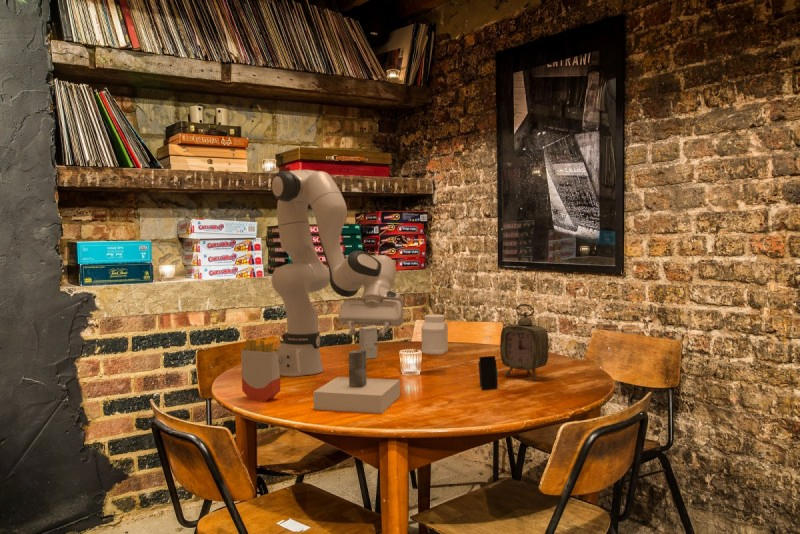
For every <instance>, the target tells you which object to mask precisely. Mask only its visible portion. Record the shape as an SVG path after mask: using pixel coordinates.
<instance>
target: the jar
mask: <svg viewBox="0 0 800 534" xmlns="http://www.w3.org/2000/svg"><path fill="white" fill-rule="evenodd" d="M445 317H446V316H445V315H444V314H438V313H437V314H435V313H434V314H426V315H424V322H423V323H422V325H421V327H420V329H421V353H423V354H427V355H443V354H445V353H446V352H448V351H449V346H448V345H449V340H448V339H449V337H448V336H449V331H448V330H449V327H448V324H447V322H445Z"/></svg>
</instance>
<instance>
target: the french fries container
mask: <svg viewBox="0 0 800 534" xmlns="http://www.w3.org/2000/svg"><path fill="white" fill-rule="evenodd" d="M273 350H274V351H273ZM240 352H241V354H240V355H241V389H242V392H243V393H244V395H245V396H246V397H247V398H248V399H249V400H251V401H260V402H266V401H269V400H271V399H273V398H274V397H276V395H278V393H280V392H281V375H280V371H279V359H278V349H276V348H274V342H268V343H265V340H259V344H258V343H257V340H256V339H250V338H249V339H246V340H245V346H243V347H242V349H241V351H240Z"/></svg>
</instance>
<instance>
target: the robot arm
mask: <svg viewBox="0 0 800 534" xmlns="http://www.w3.org/2000/svg"><path fill="white" fill-rule="evenodd" d="M270 187H271V192H272V194H273V196H274V198H275V199H277V207H276V217H277V228H278V233H279V240H280V247H281V249H282V250H283V251H284V252H285V253H287V255H288V256H289V258H290V259H291V262H292V263H287V264H286V263H285V264H283V265H281V266H278V267H277V268H275V269H274V271H273V273H272V274H271V285H272V288H273V289H274V291H275V292H276V293H277V294H278V295H279V296H280V298H281V299H282V302H283V305H284V308H285V313H286V327H287V328H286V331H287V332H285V333H283V334H282V335H281V336H280V340H282V343H281V344H279V345H278V346H277V347H276V348H275V349H278V359H279V371H280V377H281V376H284V377H291V378H293V377H295V378H296V377H300V376H306V375H307V376H308V375H316V374H320V373H322V372H324V367H323V363H322V359H321V353H320V347H321V346H320V345H321V336H320V331H319V312H318V309H317V307H315V306H314V305H313V303H312V302H311V299H310V293H315V292H316V293H317V292H319V291H321V290H323V289H325V288H326V287H327V286H328V285H330V287H331V289H332V290H333V291H334V293H336V294H337V295H339V296H340V297H345V298H348V299H345V300H344V301H343V303H342V307H341V308H340V310H339V313H338V319H339V321H340V323H341V324H342V325H348V327H349V331H348V333H349V336H355V335H356V332H357V331H356V328H355V326H357V325H358V326H378V327H379V326H380V327H381V326H382V328H378V329H379V331H378V336H379V337H385V335H386V332H388V330H390V329H391V327H400V326H402V325H403V323H404V316H405V315H404V302H403V299H402V296H401V294H400V293H399V292H397V291H393V290H392V288H393V287H394V285H395V279H396V273H397V267H396V264H395V262H394V260H393V259H392V258H391V257H390V256H388V255H386V254H385V255H384V254H378V255H372V254H369V253H367V252H366V251H364V250H363V251H362V250H353V251H352V252H350V253H349V254H348V255H347V257H345V256H344V252H343V250H342V246H341V235H342V232H343V227H344V225H345V223H346V220H347V217H348V209H347V208H348V207H347V205H346V201H345V199H344V197H343V196H344V195H342V194H343V193H342V192H341V190H340V188H339V187H338V185H337V184H336V182H335V181H334V179H333V177H332V176H331V175H330V174H329V173H328V172H326V171H322V170H317V169H316V170H312V169H311V170H310V169H296V170H295V169H294V170H282V171H281V170H280V171H278V172H276V173H275V174H274V175H273V177H272V179H271V184H270ZM309 205H310V208H311V210H312V212H313V216H314V219H315V221H316V227H317V232H318V239H319V242H320V246H321V249H322V252H323V257H324V259H325V261H326V264H324V263H323V262H322V261H321V259H320V257H319V255H318V253H317V250H316V249H315V245H314V242H313V237H312V232H311V226H310V225H311V224H310V220H309V219H310V218H309V215H308V208H309V207H308V206H309ZM326 265H327V266H326ZM362 286H363V292H362V296H361V298H360V297H359V298H358V297H357V298H353V297H354V296H355V295H356V294H357V293H359V292H358V291H359V290H360V288H361V287H362ZM273 351H274V349H273Z"/></svg>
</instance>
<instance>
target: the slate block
mask: <svg viewBox="0 0 800 534" xmlns="http://www.w3.org/2000/svg"><path fill="white" fill-rule="evenodd" d="M348 377H349V387H364V386H365V385H366V384H367V381H366V378H367V359H366V351H361V350H360V349H359V350H358V349H357V350H356V349H354V350H351V351H349V352H348Z"/></svg>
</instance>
